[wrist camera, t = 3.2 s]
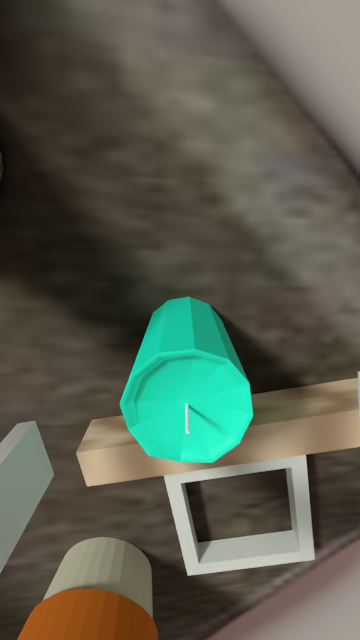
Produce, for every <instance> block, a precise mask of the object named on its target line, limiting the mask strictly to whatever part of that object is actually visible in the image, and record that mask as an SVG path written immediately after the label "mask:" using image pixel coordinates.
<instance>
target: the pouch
mask: <svg viewBox="0 0 360 640" xmlns="http://www.w3.org/2000/svg"><path fill="white" fill-rule="evenodd" d="M2 170H3V167H2V156H1V153H0V182H1V177H2Z"/></svg>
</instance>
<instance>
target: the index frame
mask: <svg viewBox="0 0 360 640" xmlns="http://www.w3.org/2000/svg"><path fill="white" fill-rule="evenodd" d="M283 468H286V476H287V486H288V495H289V504H290V513H291V523H292V530H289V531H282V532H274V533H267V534H259V535H251V536H244V537H236V538H229V539H221V540H214V541H206V542H199V543H198V542H197V537H196V533H195V528H194V524H193V519H192V515H191V510H190V505H189V501H188V496H187V492H186V487H185V483H186V482H193V481H200V480H207V479H214V478H221V477H228V476H235V475H242V474H249V473H256V472H263V471H270V470H277V469H283ZM164 479H165V483H166V487H167V491H168V495H169V499H170V504H171V508H172V512H173V516H174V520H175V524H176V529H177V533H178V537H179V541H180V545H181V549H182V554H183V558H184V562H185V566H186V570H187V574H188V576H190V575H198V574H206V573H214V572H221V571H229V570H237V569H245V568H253V567H261V566H269V565H277V564H284V563H292V562H300V561H308V560H315V556H314V544H313V533H312V521H311V509H310V497H309V486H308V474H307V462H306V455H300V456H293V457H286V458H279V459H272V460H266V461H259V462H252V463H245V464H238V465H231V466H225V467H218V468H211V469H204V470H197V471H190V472H183V473H177V474H170V475H164Z"/></svg>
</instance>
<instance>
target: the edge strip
mask: <svg viewBox="0 0 360 640" xmlns="http://www.w3.org/2000/svg"><path fill="white" fill-rule="evenodd" d="M251 400H252V408H253V417H252V419H251V421H250V423H249V425H248V427H247V429H246V431H245V433H244V435H243V437H242V439H241V441H240V443H239V444H238V445H237V446H235V447H234V448H233V449H231V450H230V451H228V452H227V453H226V454H224V455H223V456H222V457H220V458H219V459H217V460H216V461H215V462H213V463H200V462H177V461H172V460H167V459H162V458H157V457H152V456H149V455H148V454H147V453H146V452H145V450H144V449H143V448H142V446H141V445H140V444H139V443H138V441H137V440H136V439H135V437H134V436H133V435H132V434H131V432H130V431H129V430H128V428H127V425H126V422H125V419H124V416H123V415H120V416H114V417H108V418H101V419H95V420H92V421H91V423H90V425H89V427H88V429H87V431H86V433H85V435H84V438H83V440H82V442H81V444H80V446H79V448H78V450H77V452H76V454H77V457H78V460H79V463H80V466H81V469H82V472H83V476H84V479H85V482H86V485H87V487H88V486H95V485H101V484H108V483H115V482H122V481H129V480H136V479H142V478H149V477H156V476H163V475H170V474H177V473H183V472H190V471H197V470H204V469H211V468H218V467H225V466H231V465H238V464H245V463H252V462H259V461H266V460H272V459H279V458H286V457H293V456H300V455H307V454H314V453H320V452H327V451H334V450H341V449H348V448H355V447H360V432H359V397H358V378H353V379H347V380H341V381H335V382H328V383H322V384H316V385H309V386H303V387H297V388H290V389H284V390H278V391H271V392H265V393H259V394H253V395H251Z"/></svg>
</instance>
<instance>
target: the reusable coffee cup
mask: <svg viewBox="0 0 360 640" xmlns="http://www.w3.org/2000/svg"><path fill="white" fill-rule="evenodd" d="M17 640H158V630H157V628H156V625H155V622H154V621H153V607H152V571H151V566H150V563H149V560H148V559H147V557H146V556H145V555H144V553H143V552H142V551H141V550H140V549H138V548H137V547H135V546H134V545H132V544H130V543H128V542H126V541H123V540H120V539H116V538H110V537H97V538H91V539H87V540H84V541H81V542H80V543H78V544H76V545H74V546H73V547H72V548H71V549H70V550H69V551H68V552H67V554H66V555H65V557H64V559H63V561H62V563H61V565H60V567H59V569H58V571H57V573H56V575H55V577H54V579H53V581H52V583H51V585H50V587H49V589H48V591H47V593H46V595H45V597H44V599H43V601H42V602H41V603H39V604H38V605H37V606H36V607H35V608H34V610H33V611H32V612H31V614H30V616H29V617H28V619H27V621H26V623H25V625H24V627H23V629H22V631H21V633H20V635H19V637H18V639H17Z"/></svg>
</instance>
